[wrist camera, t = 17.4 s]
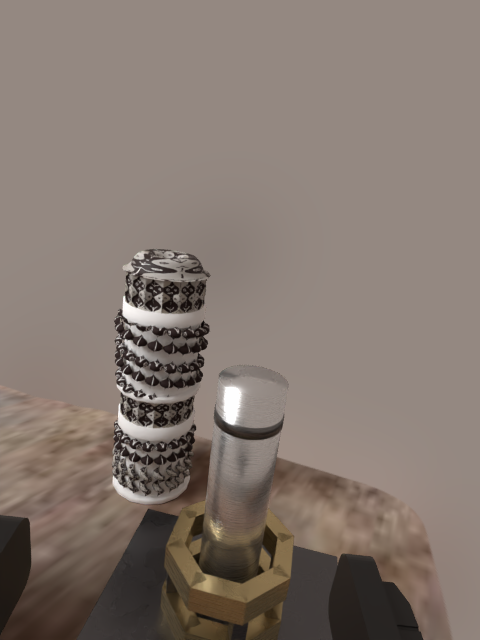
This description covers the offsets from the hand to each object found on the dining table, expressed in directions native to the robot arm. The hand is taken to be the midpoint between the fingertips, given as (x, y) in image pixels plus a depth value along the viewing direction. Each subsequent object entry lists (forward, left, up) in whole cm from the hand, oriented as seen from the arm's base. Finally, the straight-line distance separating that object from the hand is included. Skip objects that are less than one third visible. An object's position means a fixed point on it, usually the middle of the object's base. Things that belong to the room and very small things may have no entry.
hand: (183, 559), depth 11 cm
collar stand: (0, +16, -23) cm, 28 cm away
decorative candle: (-11, +29, -23) cm, 39 cm away
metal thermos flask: (0, +16, -21) cm, 27 cm away
